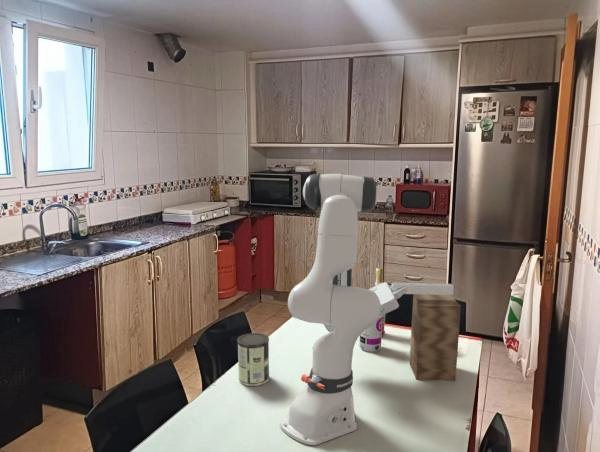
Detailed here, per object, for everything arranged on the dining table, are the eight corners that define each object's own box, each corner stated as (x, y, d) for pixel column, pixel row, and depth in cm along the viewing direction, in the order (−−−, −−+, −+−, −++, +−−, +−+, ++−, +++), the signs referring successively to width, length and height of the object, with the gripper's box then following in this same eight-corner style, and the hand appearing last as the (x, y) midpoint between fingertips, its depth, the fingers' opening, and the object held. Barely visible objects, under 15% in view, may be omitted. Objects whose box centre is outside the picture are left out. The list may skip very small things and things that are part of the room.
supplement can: (384, 347, 193) (385, 310, 191) (375, 354, 186) (377, 316, 184) (365, 342, 197) (366, 306, 195) (355, 349, 191) (357, 311, 188)
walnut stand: (416, 379, 167) (420, 305, 163) (409, 363, 179) (413, 294, 174) (455, 380, 167) (460, 306, 162) (446, 364, 178) (450, 295, 174)
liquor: (377, 339, 201) (380, 271, 196) (363, 334, 206) (366, 268, 201) (389, 335, 205) (392, 269, 201) (375, 329, 211) (378, 265, 206)
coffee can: (255, 368, 173) (255, 330, 170) (275, 379, 166) (275, 338, 163) (231, 378, 166) (230, 338, 163) (251, 389, 158) (250, 347, 156)
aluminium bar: (392, 293, 167) (393, 284, 166) (391, 291, 170) (391, 282, 169) (452, 295, 166) (453, 286, 166) (450, 292, 169) (451, 283, 169)
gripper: (367, 307, 159) (406, 287, 157) (361, 289, 179) (395, 271, 177) (376, 324, 159) (415, 304, 158) (369, 304, 179) (403, 286, 178)
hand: (405, 287), depth 168 cm, fingers closed on aluminium bar, 3 cm apart
